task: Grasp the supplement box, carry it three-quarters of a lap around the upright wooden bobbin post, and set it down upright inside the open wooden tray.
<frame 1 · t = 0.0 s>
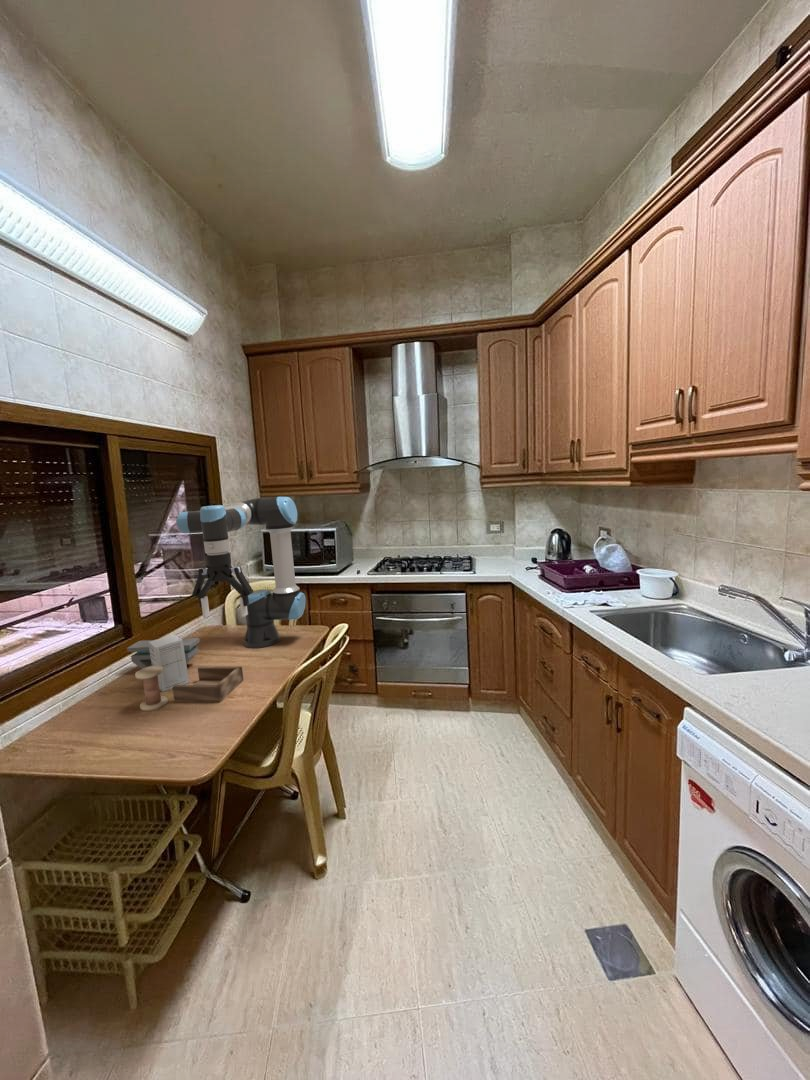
hand: (225, 616, 149), 28 cm above the table, fingers open, 13 cm apart
open wooden tray: (208, 690, 158), on the table
bobbin post: (154, 704, 150), on the table
supplement box: (172, 684, 165), on the table
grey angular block: (167, 669, 180), on the table
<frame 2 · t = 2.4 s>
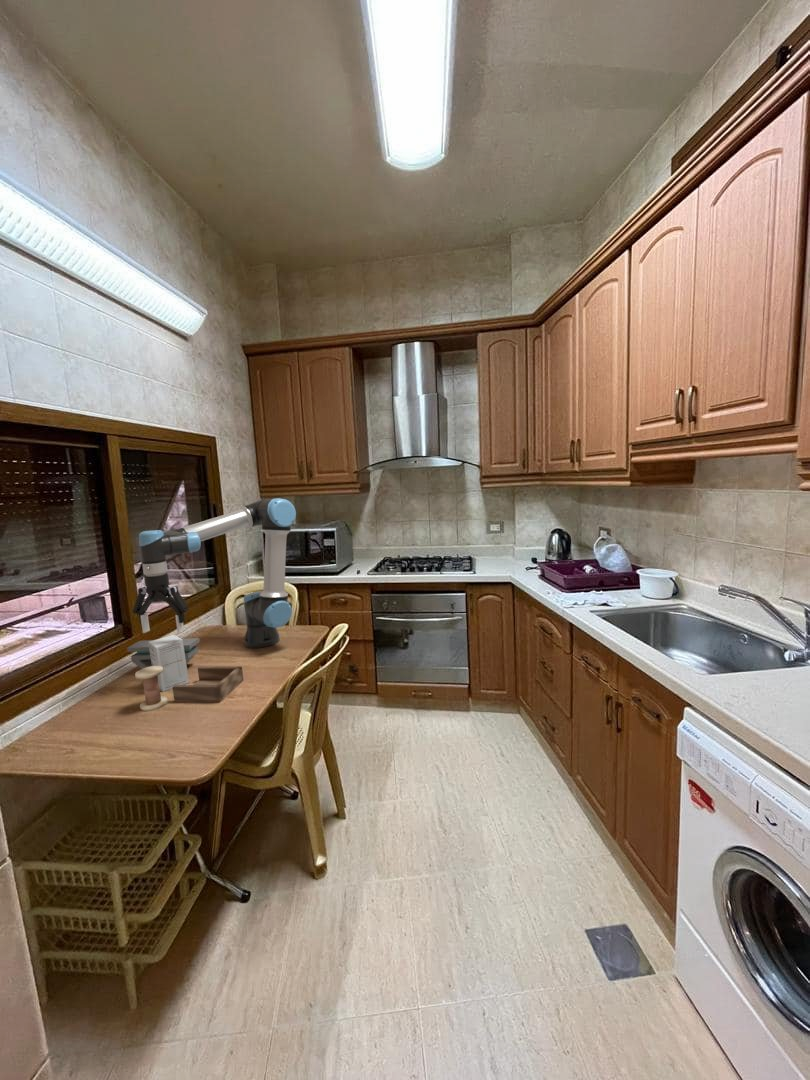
hand: (163, 631, 162), 20 cm above the table, fingers open, 13 cm apart
nothing on the table moved.
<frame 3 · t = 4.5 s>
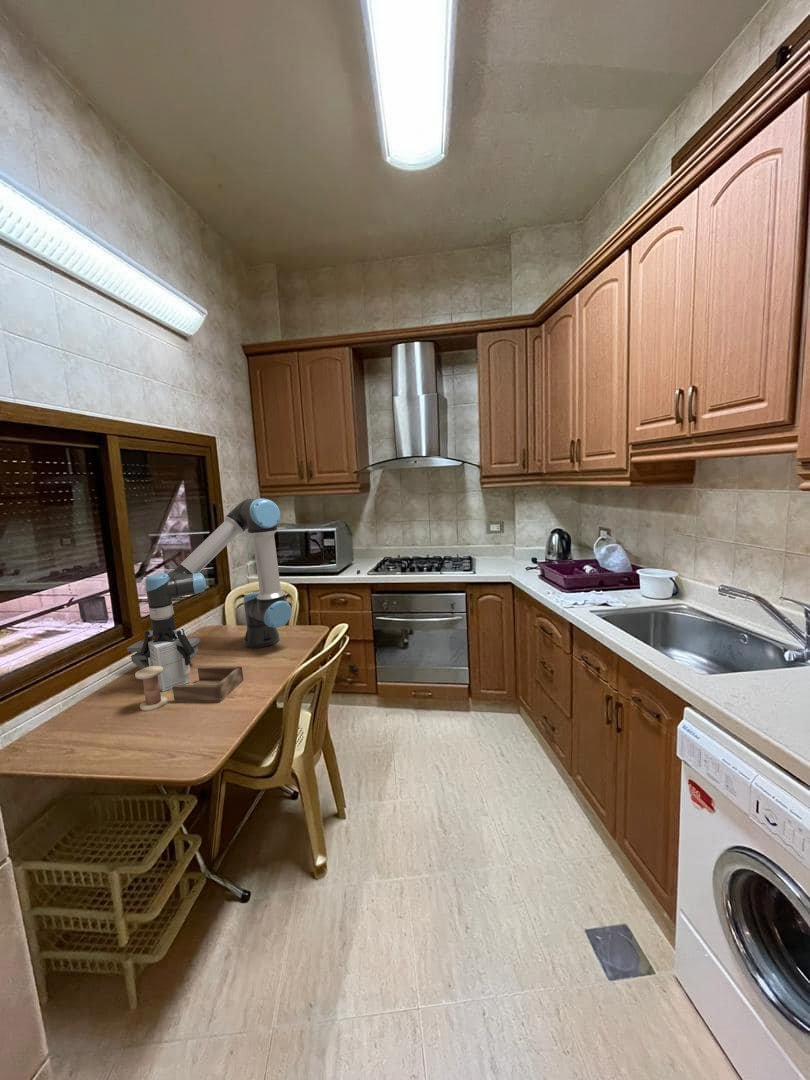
hand: (170, 673, 165), 4 cm above the table, fingers closed on supplement box, 12 cm apart
supplement box: (172, 684, 165), on the table, touching gripper
everything else where it was.
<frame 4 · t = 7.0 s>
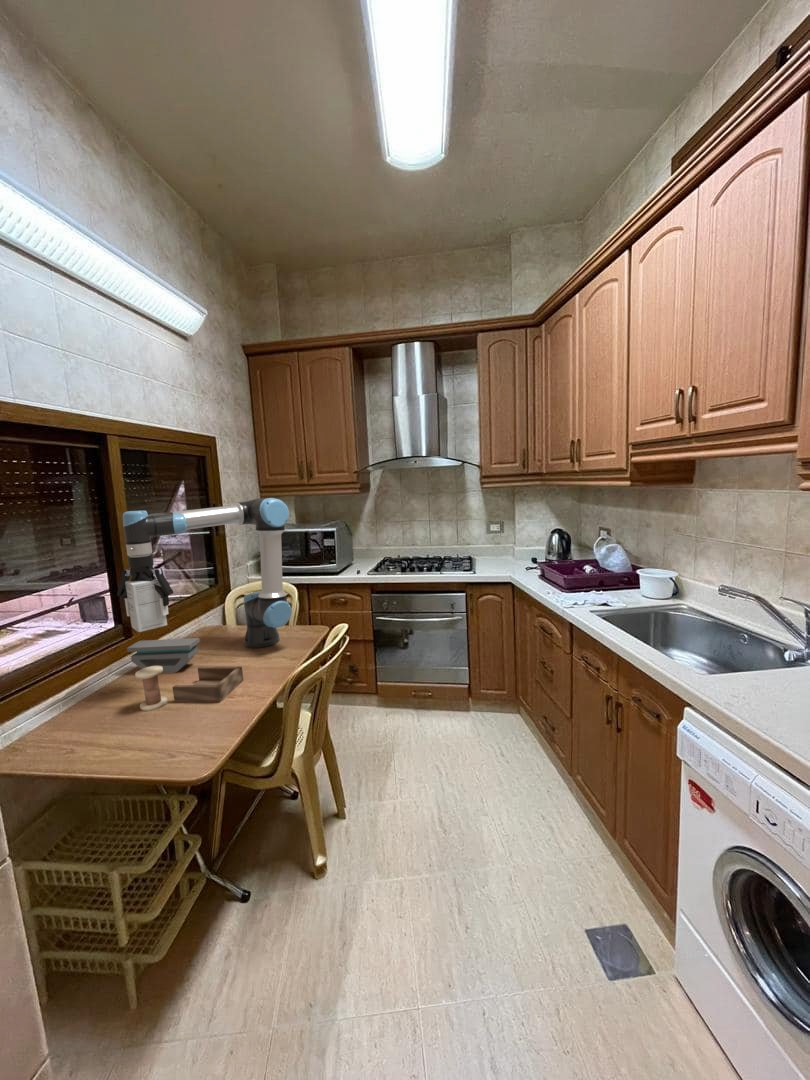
hand: (147, 615, 159), 27 cm above the table, fingers closed on supplement box, 12 cm apart
supplement box: (149, 627, 159), point 23 cm above the table, touching gripper
everything else where it was.
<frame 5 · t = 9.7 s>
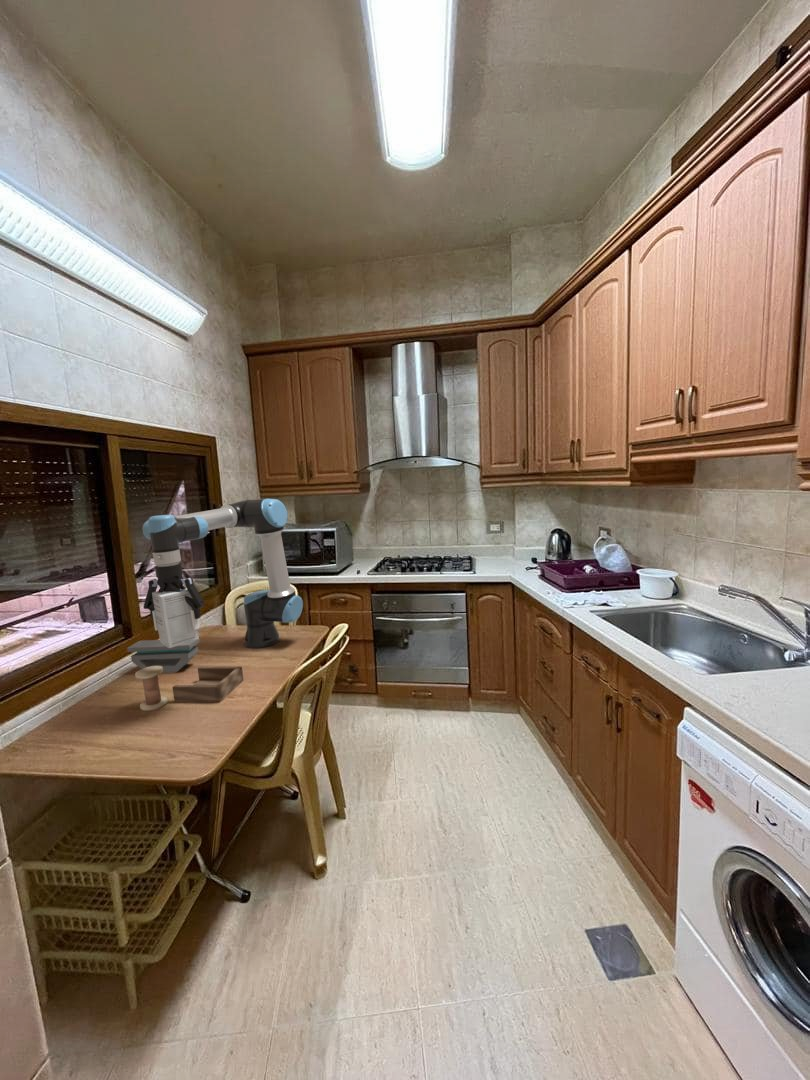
hand: (177, 628, 145), 26 cm above the table, fingers closed on supplement box, 12 cm apart
supplement box: (179, 641, 146), point 22 cm above the table, touching gripper
everything else where it was.
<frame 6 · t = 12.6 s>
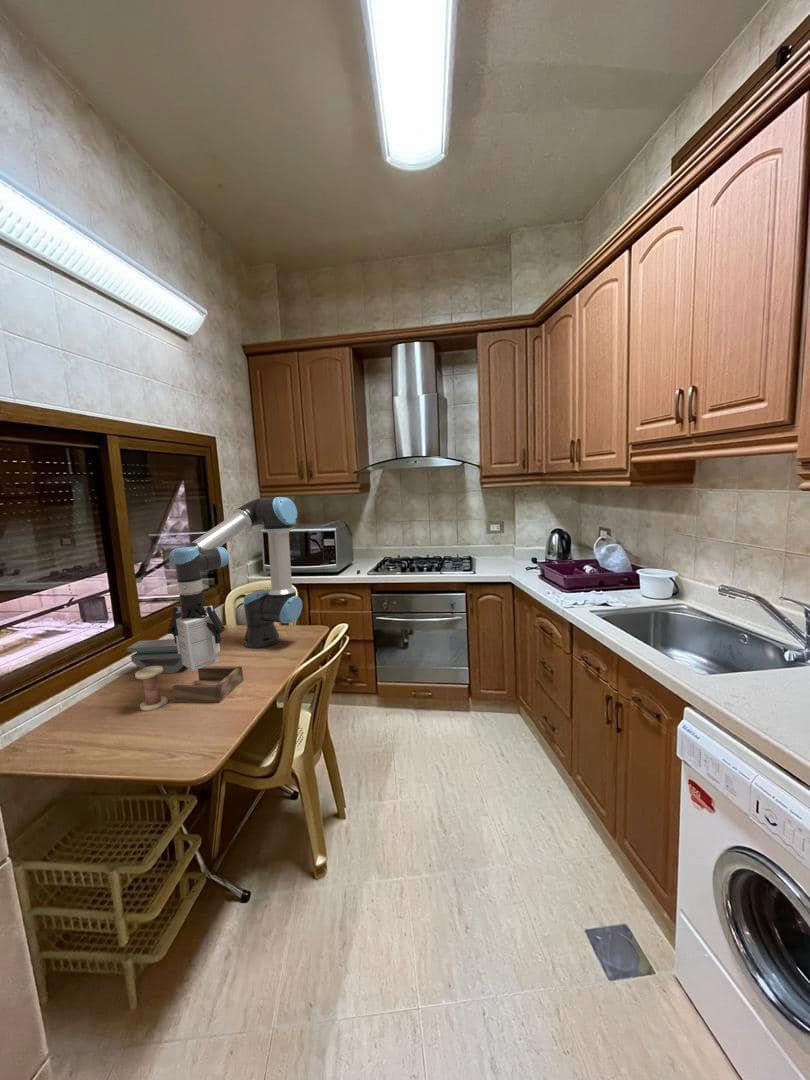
hand: (199, 652, 156), 14 cm above the table, fingers closed on supplement box, 12 cm apart
supplement box: (200, 664, 157), point 10 cm above the table, touching gripper
everything else where it was.
when the fingers open (6 cm above the table, at t = 14.8 s): supplement box drops 2 cm, resting on open wooden tray.
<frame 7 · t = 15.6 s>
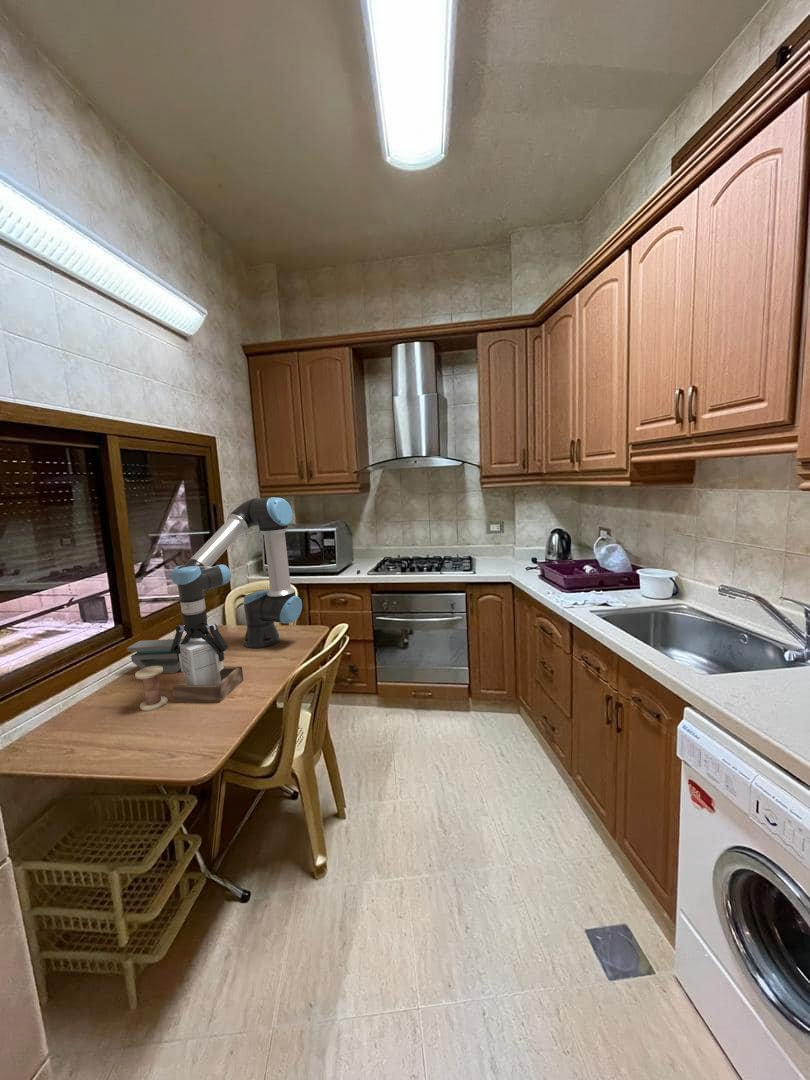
hand: (202, 670, 157), 7 cm above the table, fingers open, 13 cm apart
supplement box: (204, 688, 158), point 1 cm above the table, touching open wooden tray
everything else where it was.
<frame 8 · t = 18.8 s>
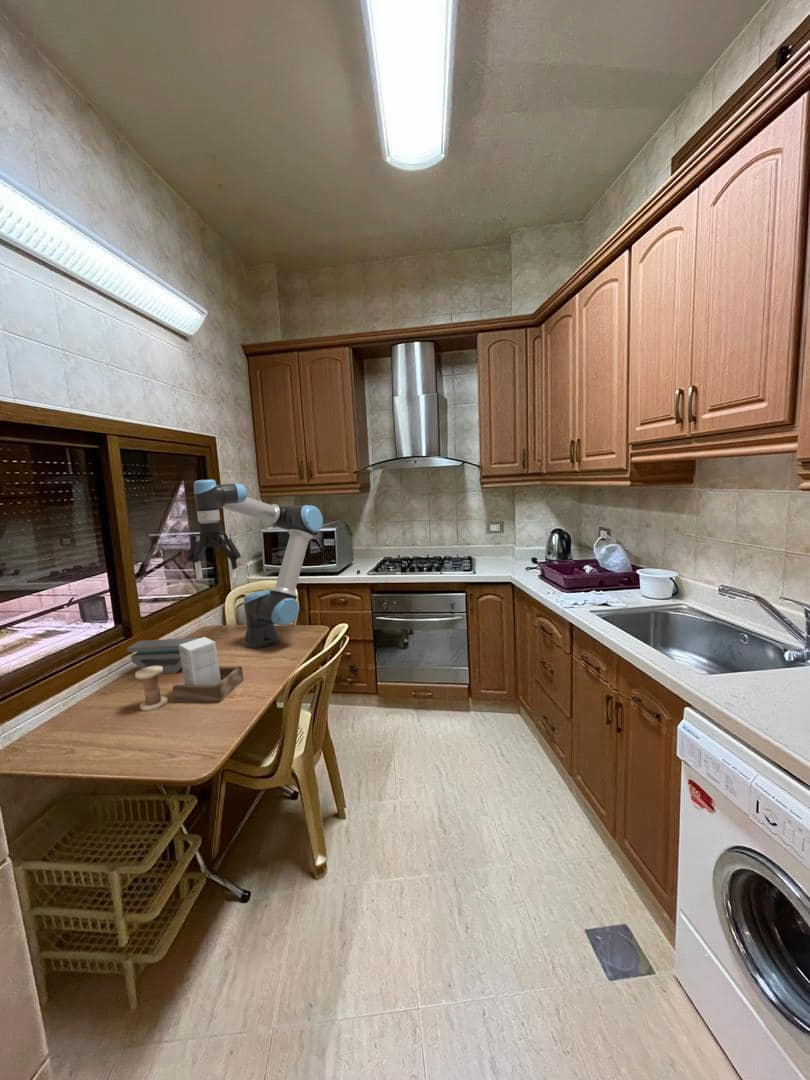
hand: (216, 578, 169), 37 cm above the table, fingers open, 13 cm apart
nothing on the table moved.
at the end: supplement box inside the target area (2.0 cm from its centre), point 0.6 cm above the table; supplement box tilted 0°; the gripper is holding nothing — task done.
